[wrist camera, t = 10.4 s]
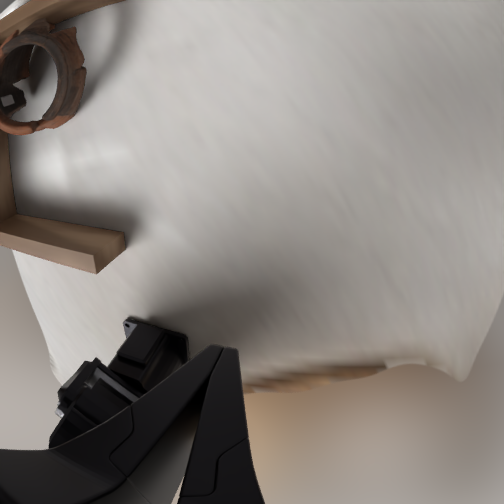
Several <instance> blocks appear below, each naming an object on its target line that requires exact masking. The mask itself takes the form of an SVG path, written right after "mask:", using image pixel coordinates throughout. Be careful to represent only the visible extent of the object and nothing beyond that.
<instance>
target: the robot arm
mask: <svg viewBox="0 0 504 504" xmlns="http://www.w3.org/2000/svg"><path fill="white" fill-rule="evenodd" d="M123 326H124V330H125V334H126V338H127V339H126V340H125V341H124V343H123V344H122V345H121V347H120V348H119V349H118V351H117V354H116V355H115V357H114V358H113V359H112V361H111V362H110V364H109V365H108V366H107V367H106V366H105V365H104V364H102V363H101V361H100V360H99V359H98V358H97V357H96V358H95V359H94V360H93V361H92V362H89V361H84V363H83V364H82V365H81V366H80V368H79V369H78V370H77V371H76V373H75V374H74V375H73V376H72V377H71V378H70V379H69V380H68V381H67V382H66V383H65V384H64V385H63V386H62V387H61V388H60V389H59V391H58V397H59V402H58V407H57V409H56V411H55V413H56V414H57V415H58V416H59V417H60V418H62V419H61V420H60V422H59V424H58V425H57V426H56V428H55V430H54V431H53V433H52V434H51V436H50V440H49V449H46V450H8V449H0V504H171V503H172V500H173V498H174V496H175V494H176V491H177V490H178V487H179V485H180V483H181V481H182V479H183V477H184V479H183V483H182V487H181V491H180V495H179V496H180V497H179V499H178V503H177V504H265V502H264V499H263V496H262V493H261V490H260V487H259V485H258V481H257V477H256V474H255V470H254V466H253V461H252V456H251V450H250V443H249V438H248V437H249V436H248V428H247V420H246V413H245V404H244V396H243V388H242V379H241V371H240V362H239V353H238V349H236V348H231V347H225V348H224V347H223V346H220V345H215V344H210V345H209V346H207V347H206V348H205V349H204V350H202V351H201V352H200V353H198V354H197V355H196V356H195V357H193V358H192V359H191V360H190V359H189V347H188V338H187V337H186V336H185V335H184V334H181V333H177V332H173V331H169V330H166V329H162V328H158V327H155V326H151V325H148V324H144V323H141V322H137V321H134V320H131V319H126V320H125V321H124V322H123ZM184 474H185V475H184Z"/></svg>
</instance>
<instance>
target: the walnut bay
mask: <svg viewBox="0 0 504 504" xmlns="http://www.w3.org/2000/svg"><path fill="white" fill-rule="evenodd" d="M121 1H125V0H31V1H29V2H27V3H26V4H24V5H22V6H21V7H19V8H18V9H16V10H14V11H13V12H11V13H10V14H8V15H7V16H5V17H4V18H2V19H1V20H0V47H1V45H2V44H3V43H4V41H5V40H6V39H7V38H8V37H9V36H10V35H11V34H12V33H13V32H14V31H16V30H19V34H20V33H21V32H22V31H23V30H24V29H25V28H27V27H28V26H29V25H31V24H32V23H33V22H34V21H35V20H37V19H42V18H46V22H48V23H50V24H57V23H59V22H62V21H64V20H67V19H69V18H72V17H74V16H77V15H80V14H83V13H85V12H88V11H91V10H94V9H97V8H101V7H104V6H107V5H110V4H114V3H117V2H121ZM19 34H18V35H19ZM0 245H1V246H4V247H7V248H10V249H13V250H16V251H19V252H22V253H26V254H29V255H32V256H35V257H38V258H42V259H45V260H48V261H52V262H55V263H58V264H62V265H65V266H69V267H72V268H76V269H79V270H83V271H87V272H90V273H94V274H98V273H99V272H100V271H101V270H102V269H103V268H104V267H106V266H107V265H108V264H109V263H110V262H111V261H113V260H114V259H115V258H116V257H117V256H118V255H120V254H121V253H122V252H123V251H124V250H126V249H125V241H124V232H119V231H113V230H107V229H101V228H95V227H89V226H83V225H78V224H72V223H66V222H60V221H54V220H49V219H43V218H37V217H31V216H25V215H20V214H17V211H16V205H15V199H14V193H13V186H12V178H11V169H10V159H9V146H8V133H7V132H5V131H3V130H2V129H0Z"/></svg>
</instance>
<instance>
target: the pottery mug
mask: <svg viewBox="0 0 504 504" xmlns="http://www.w3.org/2000/svg"><path fill="white" fill-rule="evenodd" d="M54 28H55V25H54V24H50V23H48V22H46V18H42V19H37V20H35V21H34V22H33V23H32V24H31V25H29V26H28V27H27V28H25V29H24V30H23V31H22V32H21V33H20V34H19V30H16V31H14V32H13V33H12V34H11V35H10V36H9V37H8V38H7V39H6V40H5V41H4V43H3V44H2V45H1V47H0V129H2V130H3V131H5V132H7V133H9V134H14V135H27V134H31V133H34V132H35V131H40V130H43V129H45V128H53V129H54V128H57V127H59V126H61V125H63V124H64V123H66V122H67V121H69V120H70V119H71V118H72V117H74V113H75V112H76V111H77V109H78V106H79V104H80V100H81V97H82V93H83V90H84V85H85V78H86V68H85V67H82V64H83V63H84V56H83V53H82V51H81V50H80V48H79V46H78V43H77V39H76V27H72V28H68V29H64V30H61V31H58V32H55V33H51V34H50V33H49V31H51V30H53V29H54ZM18 34H19V35H18ZM35 45H38V46H42V47H43V48H44V49H46V50H47V52H48V53H49V54H50V55H51V57H52V58H53V60H54V62H55V64H56V67H57V73H58V83H57V91H56V94H55V98H54V100H53V102H52V104H51V106H50V107H49V109H48V110H47V111H46V113H45V114H44V115H43V116H42V119H41V120H39V121H30V122H18V121H14V120H12V119H10V117H11V116H12V114H13V113H15V112H17V111H19V110H20V109H21V108H23V107H24V106H26V103H27V102H26V99H25V97H24V92H23V90H20V89H18V88H17V87H15V86H13V83H15V82H18V81H20V80H21V79H25V78H28V77H29V76H30V73H29V60H30V57H31V53H32V50H33V48H34V46H35Z"/></svg>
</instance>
